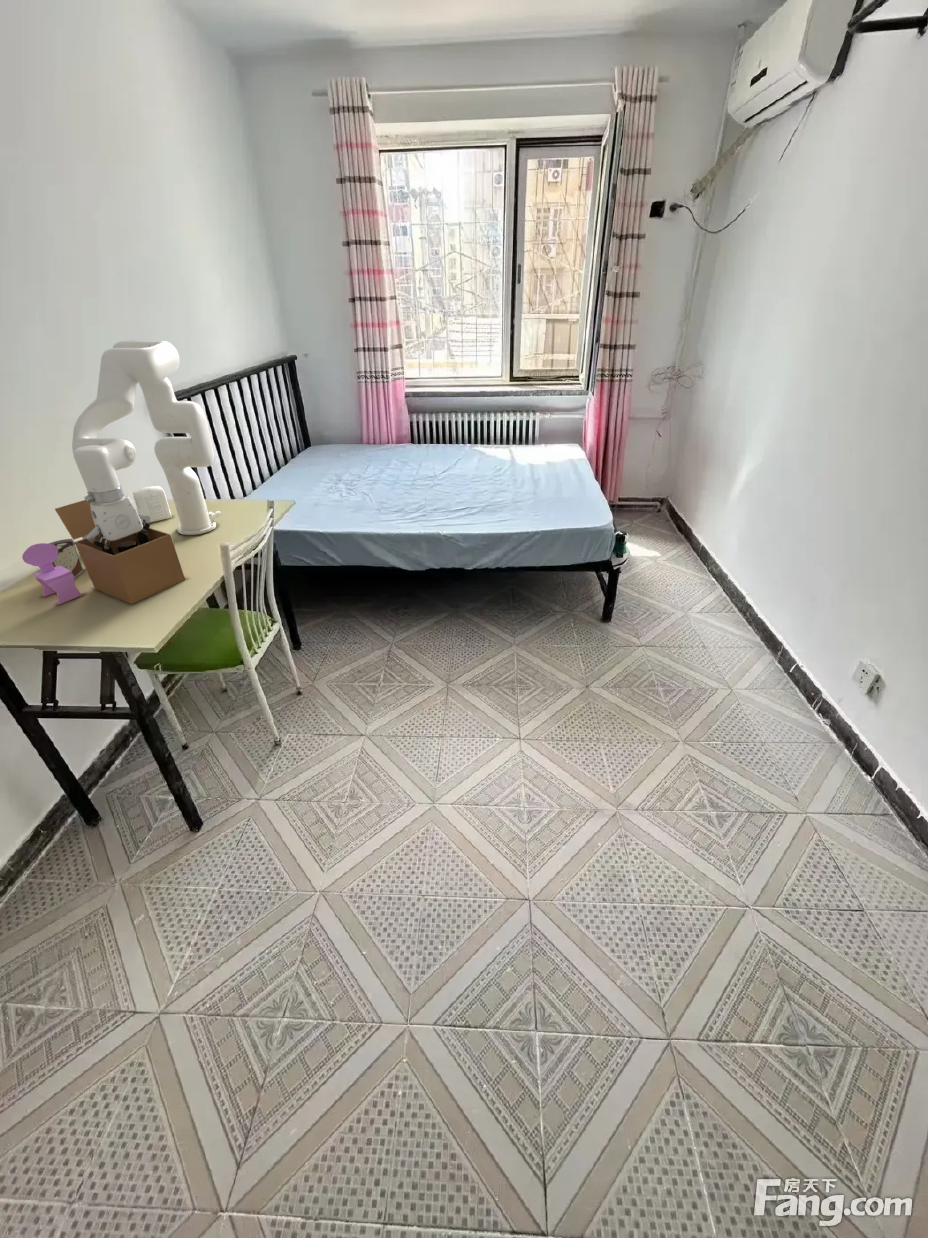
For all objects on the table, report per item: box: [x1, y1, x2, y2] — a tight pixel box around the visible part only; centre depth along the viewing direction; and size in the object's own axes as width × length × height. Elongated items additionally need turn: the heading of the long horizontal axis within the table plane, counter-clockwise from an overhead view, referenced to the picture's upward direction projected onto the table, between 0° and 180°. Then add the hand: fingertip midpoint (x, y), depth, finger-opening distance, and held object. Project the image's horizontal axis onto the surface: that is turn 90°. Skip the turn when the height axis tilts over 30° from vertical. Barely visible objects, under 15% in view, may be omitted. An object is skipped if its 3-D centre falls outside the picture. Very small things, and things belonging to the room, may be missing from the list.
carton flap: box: [54, 499, 95, 541], centre depth 145 cm, size 9×16×1 cm
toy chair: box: [22, 542, 83, 606], centre depth 141 cm, size 8×9×15 cm
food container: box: [47, 538, 84, 579], centre depth 151 cm, size 12×6×10 cm, turn 5°
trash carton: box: [74, 527, 186, 605], centre depth 147 cm, size 18×16×14 cm
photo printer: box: [132, 485, 173, 524], centre depth 189 cm, size 10×4×12 cm, turn 134°
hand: (129, 553), depth 146 cm, fingers open, 9 cm apart
